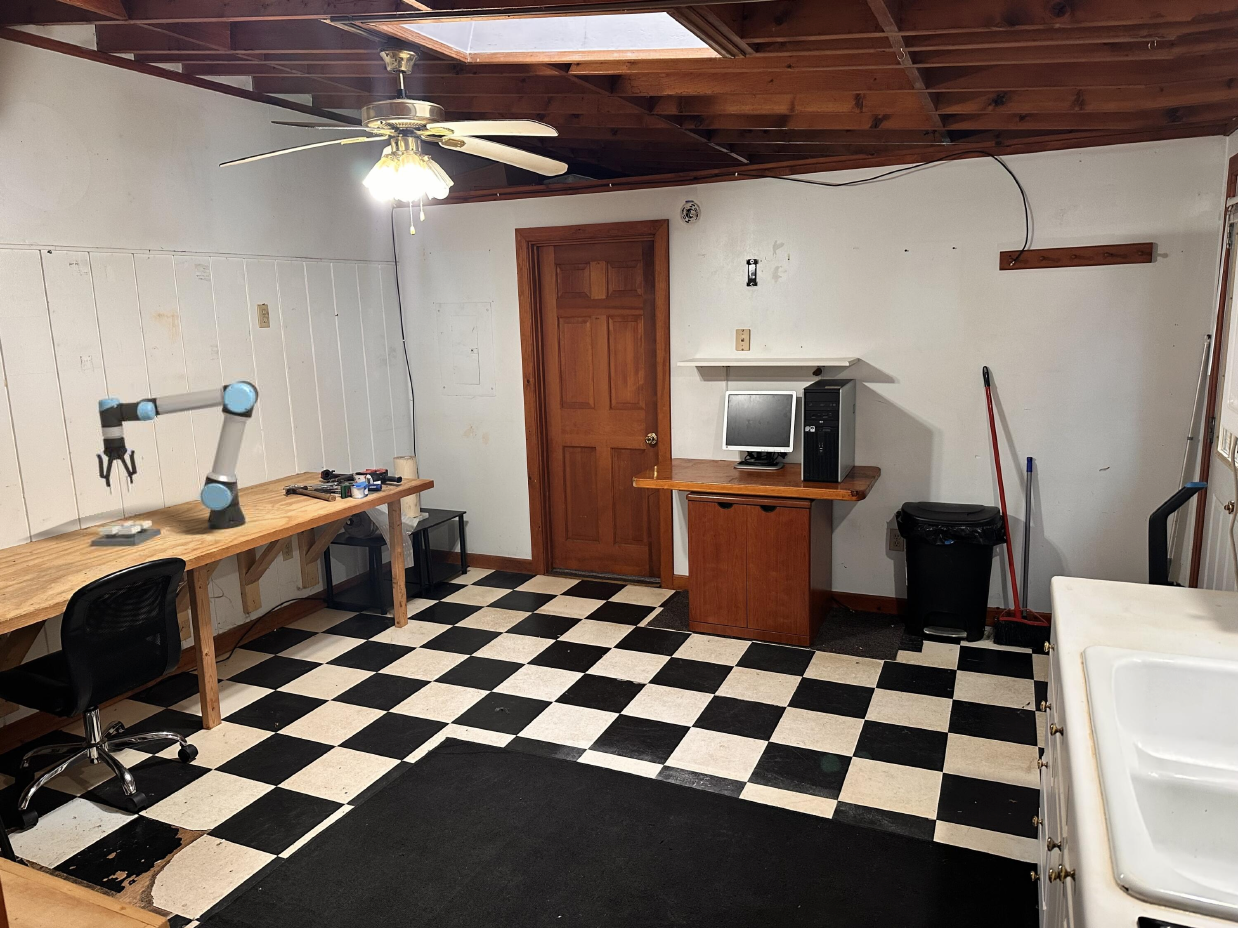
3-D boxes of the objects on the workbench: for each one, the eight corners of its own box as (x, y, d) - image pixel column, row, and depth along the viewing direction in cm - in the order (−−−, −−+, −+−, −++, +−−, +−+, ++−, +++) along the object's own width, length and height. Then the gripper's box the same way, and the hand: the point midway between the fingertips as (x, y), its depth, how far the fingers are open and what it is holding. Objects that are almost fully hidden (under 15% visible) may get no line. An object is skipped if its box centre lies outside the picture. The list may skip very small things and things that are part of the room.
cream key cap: (152, 529, 360) (151, 520, 360) (144, 533, 355) (143, 523, 354) (139, 529, 361) (137, 520, 360) (130, 533, 355) (129, 523, 354)
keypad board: (160, 533, 363) (160, 528, 362) (135, 545, 345) (134, 540, 345) (119, 534, 364) (118, 528, 363) (92, 546, 346) (91, 540, 346)
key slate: (141, 534, 353) (139, 524, 352) (132, 538, 347) (131, 528, 346) (127, 535, 353) (126, 525, 352) (118, 538, 347) (117, 528, 346)
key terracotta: (134, 530, 361) (132, 520, 360) (125, 533, 355) (124, 523, 354) (120, 530, 361) (119, 520, 360) (111, 533, 355) (110, 524, 355)
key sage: (122, 535, 353) (120, 525, 352) (113, 538, 347) (112, 528, 346) (108, 535, 353) (107, 525, 352) (99, 539, 348) (98, 529, 347)
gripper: (136, 433, 355) (143, 488, 360) (84, 438, 343) (92, 495, 347) (141, 435, 350) (148, 490, 354) (89, 440, 338) (97, 498, 342)
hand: (121, 493), depth 351 cm, fingers open, 6 cm apart
